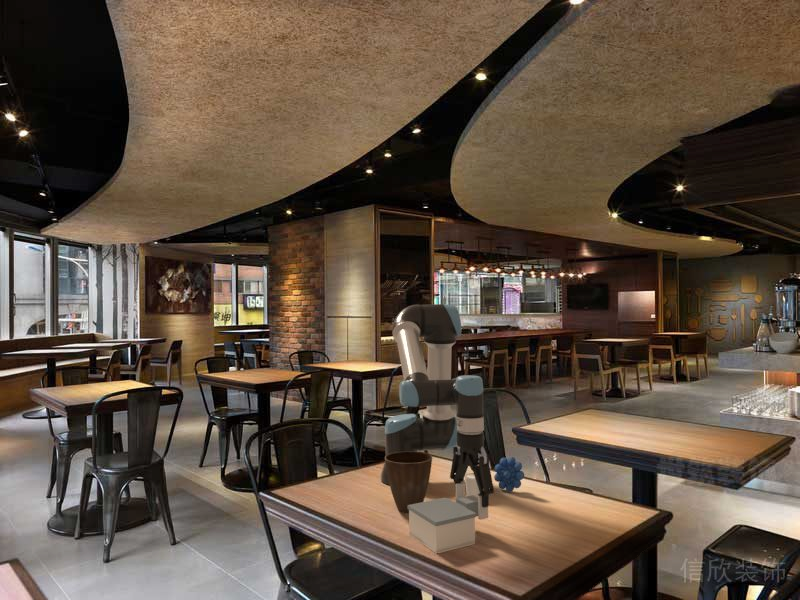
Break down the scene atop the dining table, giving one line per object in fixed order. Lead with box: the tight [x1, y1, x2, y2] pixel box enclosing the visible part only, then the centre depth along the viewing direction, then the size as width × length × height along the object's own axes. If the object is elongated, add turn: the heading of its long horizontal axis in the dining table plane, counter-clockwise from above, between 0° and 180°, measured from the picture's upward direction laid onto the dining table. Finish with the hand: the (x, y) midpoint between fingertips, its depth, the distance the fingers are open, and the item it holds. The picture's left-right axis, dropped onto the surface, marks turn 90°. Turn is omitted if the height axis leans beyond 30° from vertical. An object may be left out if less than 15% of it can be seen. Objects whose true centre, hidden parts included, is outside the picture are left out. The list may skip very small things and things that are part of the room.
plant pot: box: [384, 451, 433, 513], centre depth 171 cm, size 15×15×16 cm
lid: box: [407, 495, 478, 526], centre depth 149 cm, size 15×19×4 cm
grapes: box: [493, 456, 525, 493], centre depth 187 cm, size 12×7×12 cm, turn 47°
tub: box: [408, 510, 476, 555], centre depth 147 cm, size 14×12×7 cm
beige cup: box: [464, 472, 484, 497], centre depth 181 cm, size 7×7×7 cm
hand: (471, 512), depth 152 cm, fingers open, 10 cm apart
